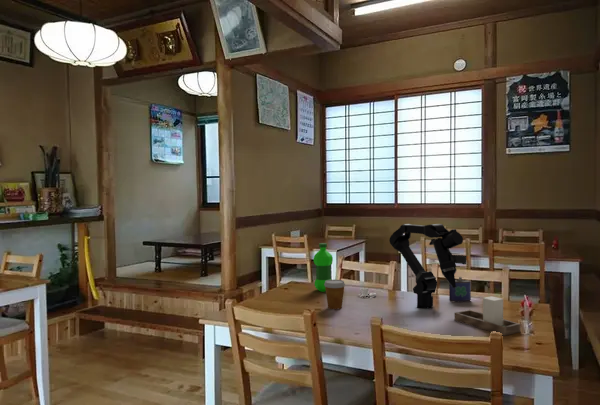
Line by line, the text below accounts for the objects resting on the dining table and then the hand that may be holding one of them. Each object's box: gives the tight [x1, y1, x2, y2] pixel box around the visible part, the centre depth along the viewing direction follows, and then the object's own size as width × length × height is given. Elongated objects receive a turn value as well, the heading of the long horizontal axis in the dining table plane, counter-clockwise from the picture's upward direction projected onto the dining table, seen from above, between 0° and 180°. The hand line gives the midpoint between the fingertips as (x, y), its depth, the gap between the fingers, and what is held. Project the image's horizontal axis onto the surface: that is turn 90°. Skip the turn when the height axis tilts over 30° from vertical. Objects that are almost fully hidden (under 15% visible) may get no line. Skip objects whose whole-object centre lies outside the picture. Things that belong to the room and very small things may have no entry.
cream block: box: [482, 296, 504, 326], centre depth 169 cm, size 5×5×10 cm
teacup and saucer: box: [359, 287, 377, 299], centre depth 222 cm, size 9×8×4 cm
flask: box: [448, 276, 472, 302], centre depth 209 cm, size 10×3×12 cm, turn 88°
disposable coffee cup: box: [324, 279, 346, 310], centre depth 201 cm, size 10×10×12 cm
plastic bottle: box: [313, 242, 334, 293], centre depth 235 cm, size 10×10×25 cm
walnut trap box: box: [453, 309, 522, 337], centre depth 172 cm, size 23×9×3 cm, turn 28°
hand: (454, 287), depth 185 cm, fingers closed
